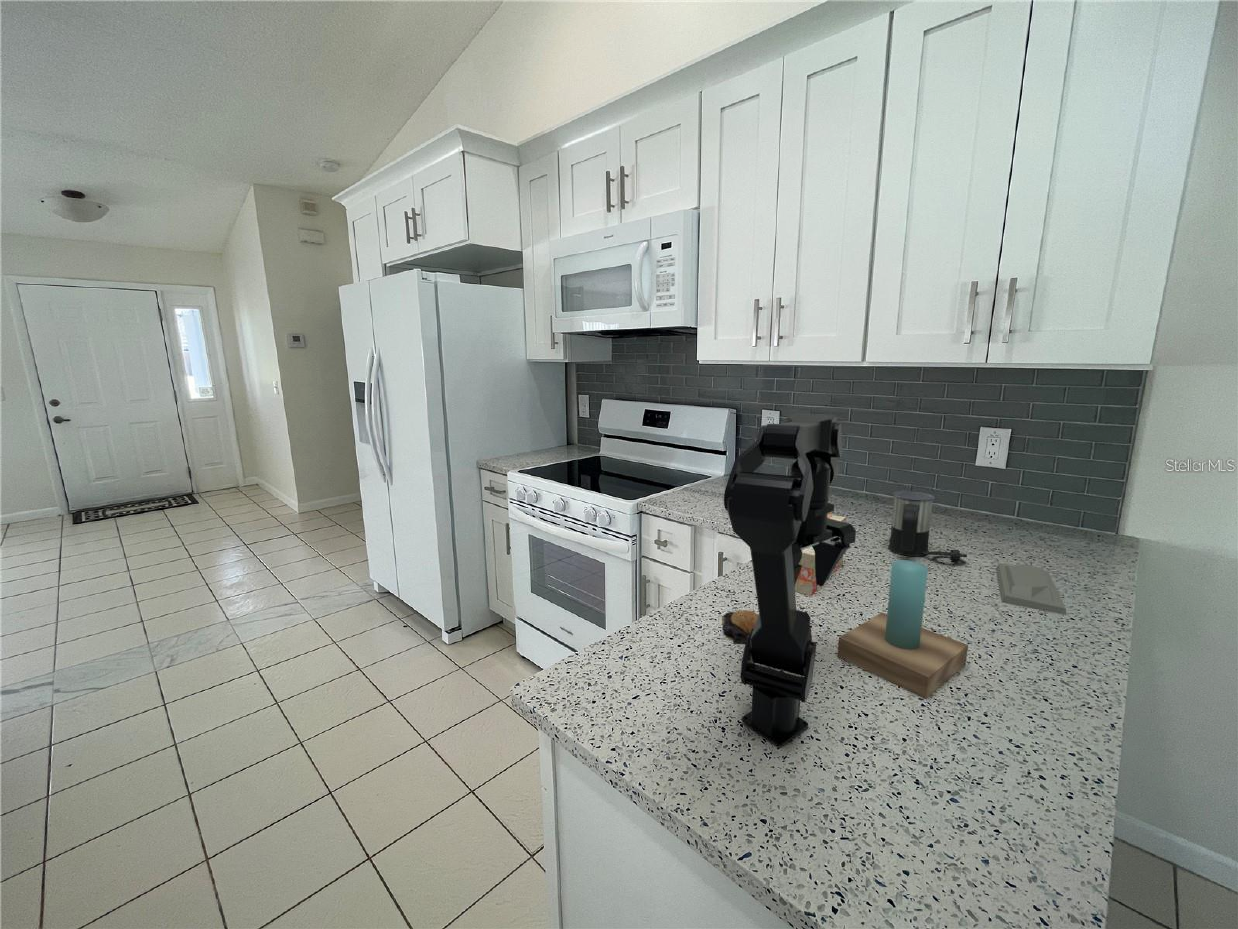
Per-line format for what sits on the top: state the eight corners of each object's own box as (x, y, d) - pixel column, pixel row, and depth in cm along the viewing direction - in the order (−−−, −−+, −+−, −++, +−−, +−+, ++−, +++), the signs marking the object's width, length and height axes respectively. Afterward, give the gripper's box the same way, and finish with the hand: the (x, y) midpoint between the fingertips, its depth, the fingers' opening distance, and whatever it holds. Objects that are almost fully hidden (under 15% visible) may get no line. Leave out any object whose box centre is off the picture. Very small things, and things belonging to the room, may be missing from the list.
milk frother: (884, 543, 140) (888, 489, 137) (950, 547, 136) (956, 492, 133) (898, 563, 126) (903, 504, 123) (971, 568, 122) (979, 507, 119)
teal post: (920, 652, 82) (929, 574, 79) (885, 645, 84) (892, 569, 81) (918, 637, 86) (926, 563, 84) (884, 630, 88) (891, 558, 86)
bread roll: (718, 618, 102) (719, 601, 101) (762, 619, 101) (763, 601, 101) (726, 647, 92) (726, 628, 91) (775, 648, 91) (775, 629, 90)
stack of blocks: (812, 597, 109) (815, 541, 107) (783, 589, 113) (786, 535, 111) (842, 565, 126) (846, 516, 123) (816, 559, 130) (819, 511, 127)
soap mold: (1000, 605, 106) (1002, 588, 105) (994, 571, 122) (996, 556, 121) (1066, 617, 100) (1068, 600, 99) (1050, 580, 117) (1053, 565, 116)
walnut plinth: (926, 698, 76) (928, 677, 76) (837, 656, 87) (838, 637, 87) (965, 664, 84) (968, 645, 84) (880, 630, 95) (881, 612, 95)
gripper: (799, 478, 90) (794, 563, 93) (725, 496, 80) (723, 592, 83) (860, 490, 82) (853, 584, 85) (787, 513, 71) (782, 619, 74)
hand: (802, 593), depth 82 cm, fingers open, 9 cm apart
